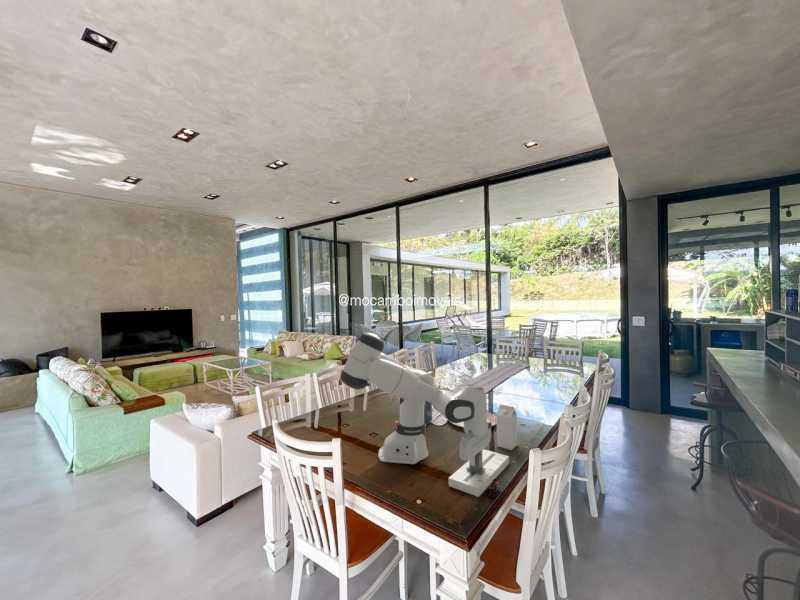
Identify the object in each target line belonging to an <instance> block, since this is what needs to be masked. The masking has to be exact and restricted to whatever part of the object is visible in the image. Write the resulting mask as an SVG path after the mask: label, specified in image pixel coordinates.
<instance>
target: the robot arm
mask: <svg viewBox="0 0 800 600" xmlns="http://www.w3.org/2000/svg"><path fill="white" fill-rule="evenodd" d="M384 342H385V341H384V340H383V339H382V338H381V337H380V336H379V335H377V334H375V333H373V332H372V333H371V332H364V333H361V335H360V336H359V337H358V340H357V341H356V342H355V344H354V346H353V347H352V349H351V351H349V355H348V357H347V360H346V362H345V364H344V367H343V369H342V370H341V373H340V376H339V377H340V380H341V382H342V383H343V384H344V385H345V386H346V387H347V388H350V389H352V390H357V391H358V390H362V389H364V388H366V387H371V384H373V385H374V386H375V387H376V388H378V389H380V390H381V391H383V392H385V393H386V394H389V395H391V396H393V397H396V398H400V399H403V401H402V402H401V403H400V404H399V421H398V420H395V421H394V424H393V425H394V426H395V428H394V431H393V432H392V433H391V434H388V435H387V436H386V437H385V439H384V442H383V445H382V446H381V447H379V450H378V454H377V455H378V457H377V458H378V460H379V461H380V462H381V463H382V462H383V463H395V464H407V465H408V464H409V465H415V464H417V463H418V462H420V461H422V460H425V459H426V458H428V457H429V452H428V448H427V443H426V432H427V431H426V430H427V429H426V423H425V422H424V405H425V401H428V402H430V403H431V404H432V406H433V408H434V409H435V410H436V411H437V412H438V413H440V414H441V415H442V416H443V417H444V418H445V419H446V420H447V421H448V422H449V421H450V423H451V422H452V423H461V422H464V428H463V431H464V434H463V437H461V439H460V442H459V458H460V459H461V460H464V461H467V462H468V461H469V460H470V464H471V465H472V466H475V465H476V460H475V455H476V454H477V453H481V454H482V452H483V449H485V448H487V446H488V445H489V444H490V443H491V441H492V427H493V426H492V422H490V421H487V417H486V412H487V410H488V409H487V408H488V404H487V394H486V391H485V389H484V388H483V387H481V386H478V385H476V384H466V385H464V387H463V388H462V389H461V390H460V391H458V392H456V393H455V392H454V391H453V390H451V389H450V388H445V387H444V388H443V387H441V388H440V387H435V386H436V385H435V384H436V383H435V379H434V376H433V375H432V374H430V373H429V372H428V373H427V372H425V371H423V370H420V369H419V368H415V367H412V366H409V365H406V364H404V363H403V362H401V361H400V360H398V359H396V358H394V357H393V356H390V355H389V354H386V353H384V348H385V343H384ZM369 382H370V383H371V384H370V383H369ZM452 423H451V424H452Z"/></svg>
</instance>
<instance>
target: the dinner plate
mask: <svg viewBox="0 0 800 600" xmlns="http://www.w3.org/2000/svg"><path fill="white" fill-rule="evenodd" d="M486 417H487V421H490V422H492V427H493V426H495V425H497V415H494V414H492V413H490V412H487V411H486ZM448 422H450V421H449V420H448ZM450 423H451V424H452V425H455V426H456V427H460V428H463V429H464V422H461V423H452V422H450Z"/></svg>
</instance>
